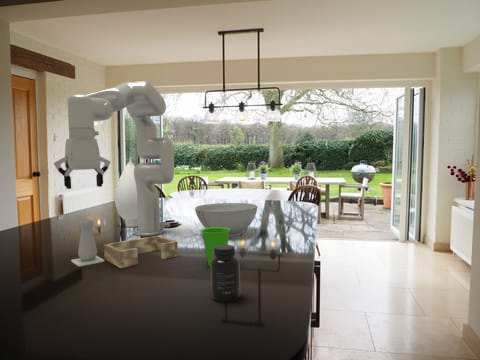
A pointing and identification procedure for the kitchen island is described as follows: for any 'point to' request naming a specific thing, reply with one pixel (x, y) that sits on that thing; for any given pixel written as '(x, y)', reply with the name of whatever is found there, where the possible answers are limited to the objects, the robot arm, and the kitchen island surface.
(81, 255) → the salt shaker
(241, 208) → the decorative bowl
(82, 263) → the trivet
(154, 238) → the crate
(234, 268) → the supplement bottle
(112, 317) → the kitchen island surface
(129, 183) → the lamp
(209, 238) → the cup
